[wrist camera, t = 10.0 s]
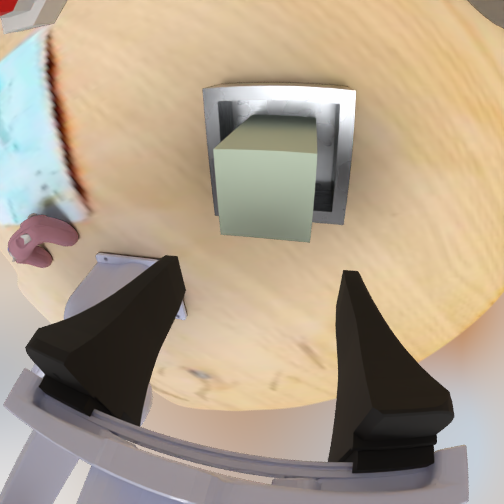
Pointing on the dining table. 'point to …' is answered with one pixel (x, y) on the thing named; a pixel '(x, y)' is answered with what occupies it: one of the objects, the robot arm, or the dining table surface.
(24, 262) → the video game controller
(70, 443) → the robot arm
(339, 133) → the grey open box
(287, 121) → the green peg
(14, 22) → the decorative lighthouse
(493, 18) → the coffee mug
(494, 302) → the dining table surface
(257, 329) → the dining table surface
